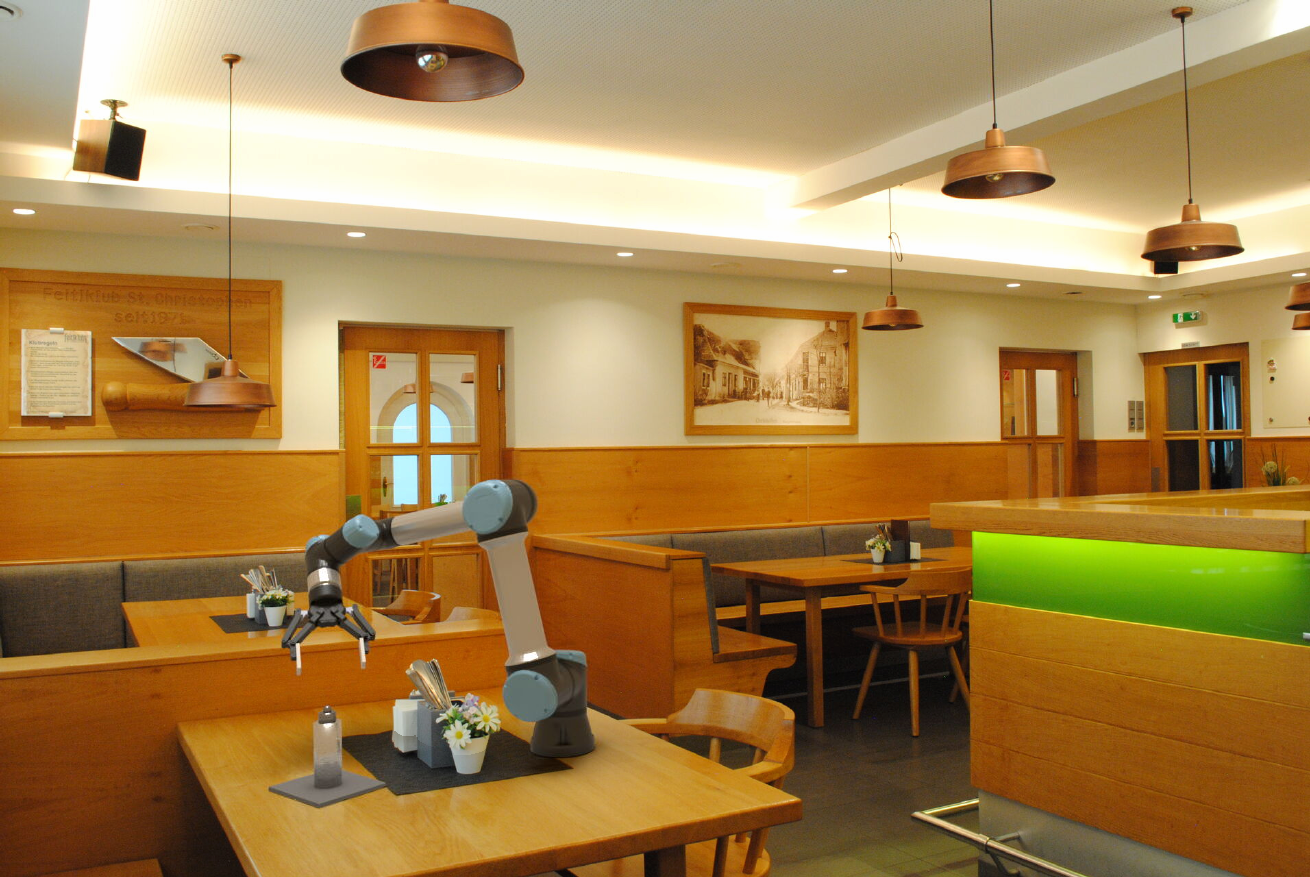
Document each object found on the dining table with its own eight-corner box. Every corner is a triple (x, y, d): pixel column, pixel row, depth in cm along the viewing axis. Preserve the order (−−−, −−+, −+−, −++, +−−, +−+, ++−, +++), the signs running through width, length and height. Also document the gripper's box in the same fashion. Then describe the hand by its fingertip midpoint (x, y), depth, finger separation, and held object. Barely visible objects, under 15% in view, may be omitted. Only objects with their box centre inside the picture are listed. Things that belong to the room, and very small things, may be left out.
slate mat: (386, 786, 210) (386, 782, 210) (319, 808, 197) (319, 803, 197) (335, 771, 221) (335, 767, 221) (268, 790, 208) (268, 786, 208)
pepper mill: (347, 783, 209) (346, 704, 210) (324, 790, 205) (323, 710, 205) (332, 778, 213) (331, 701, 213) (308, 785, 209) (307, 706, 209)
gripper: (378, 598, 242) (388, 672, 228) (268, 606, 233) (270, 684, 218) (381, 578, 237) (391, 652, 223) (268, 586, 228) (271, 663, 214)
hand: (331, 668), depth 221 cm, fingers open, 13 cm apart
